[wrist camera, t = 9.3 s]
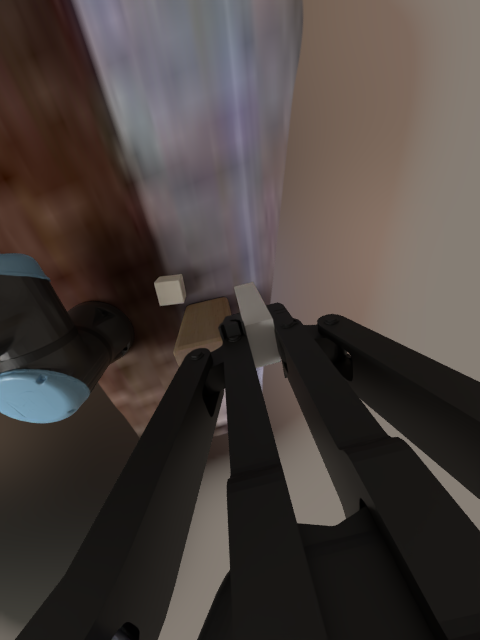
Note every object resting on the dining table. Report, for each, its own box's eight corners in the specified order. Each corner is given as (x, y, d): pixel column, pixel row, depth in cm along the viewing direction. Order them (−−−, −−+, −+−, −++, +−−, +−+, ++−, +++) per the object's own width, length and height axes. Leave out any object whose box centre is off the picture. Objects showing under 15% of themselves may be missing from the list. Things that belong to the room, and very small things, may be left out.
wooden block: (235, 331, 58) (245, 385, 40) (197, 340, 58) (189, 398, 40) (226, 294, 54) (232, 337, 36) (185, 304, 54) (170, 351, 36)
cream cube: (164, 297, 53) (159, 306, 48) (159, 276, 50) (153, 283, 46) (186, 295, 53) (183, 303, 48) (182, 273, 51) (178, 280, 46)
